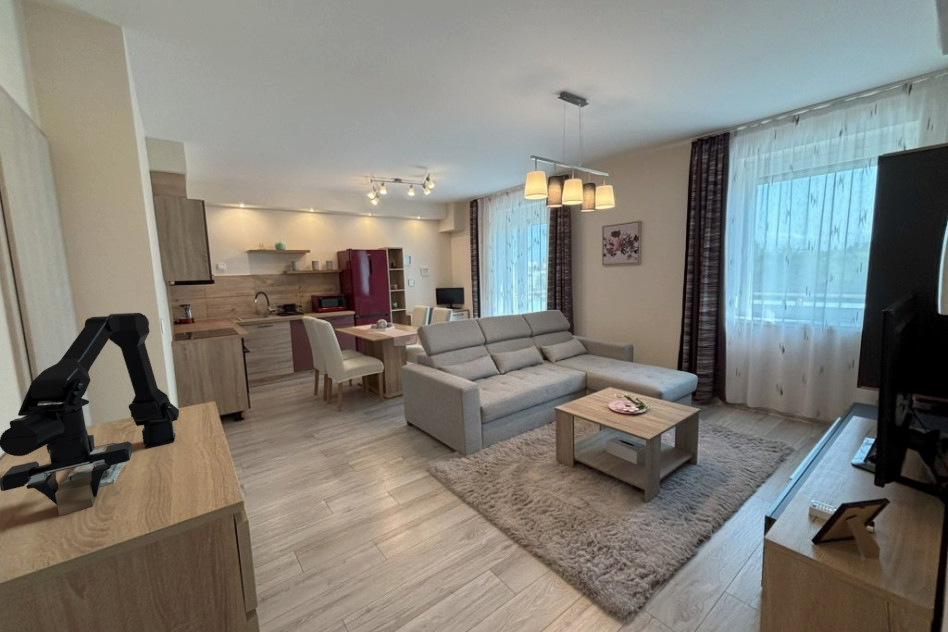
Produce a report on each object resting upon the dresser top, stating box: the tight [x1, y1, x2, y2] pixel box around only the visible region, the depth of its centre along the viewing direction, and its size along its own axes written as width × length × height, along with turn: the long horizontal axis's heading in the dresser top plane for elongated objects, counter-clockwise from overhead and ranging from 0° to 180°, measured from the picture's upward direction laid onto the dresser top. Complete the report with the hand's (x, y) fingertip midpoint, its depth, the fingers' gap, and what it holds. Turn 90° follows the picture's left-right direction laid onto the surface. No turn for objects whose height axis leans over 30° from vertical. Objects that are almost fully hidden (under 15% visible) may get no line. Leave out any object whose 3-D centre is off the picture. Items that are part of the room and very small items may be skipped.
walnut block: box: [55, 476, 99, 516], centre depth 81 cm, size 5×5×5 cm
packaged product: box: [63, 442, 126, 488], centre depth 94 cm, size 18×5×10 cm
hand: (78, 500), depth 81 cm, fingers closed on walnut block, 5 cm apart
